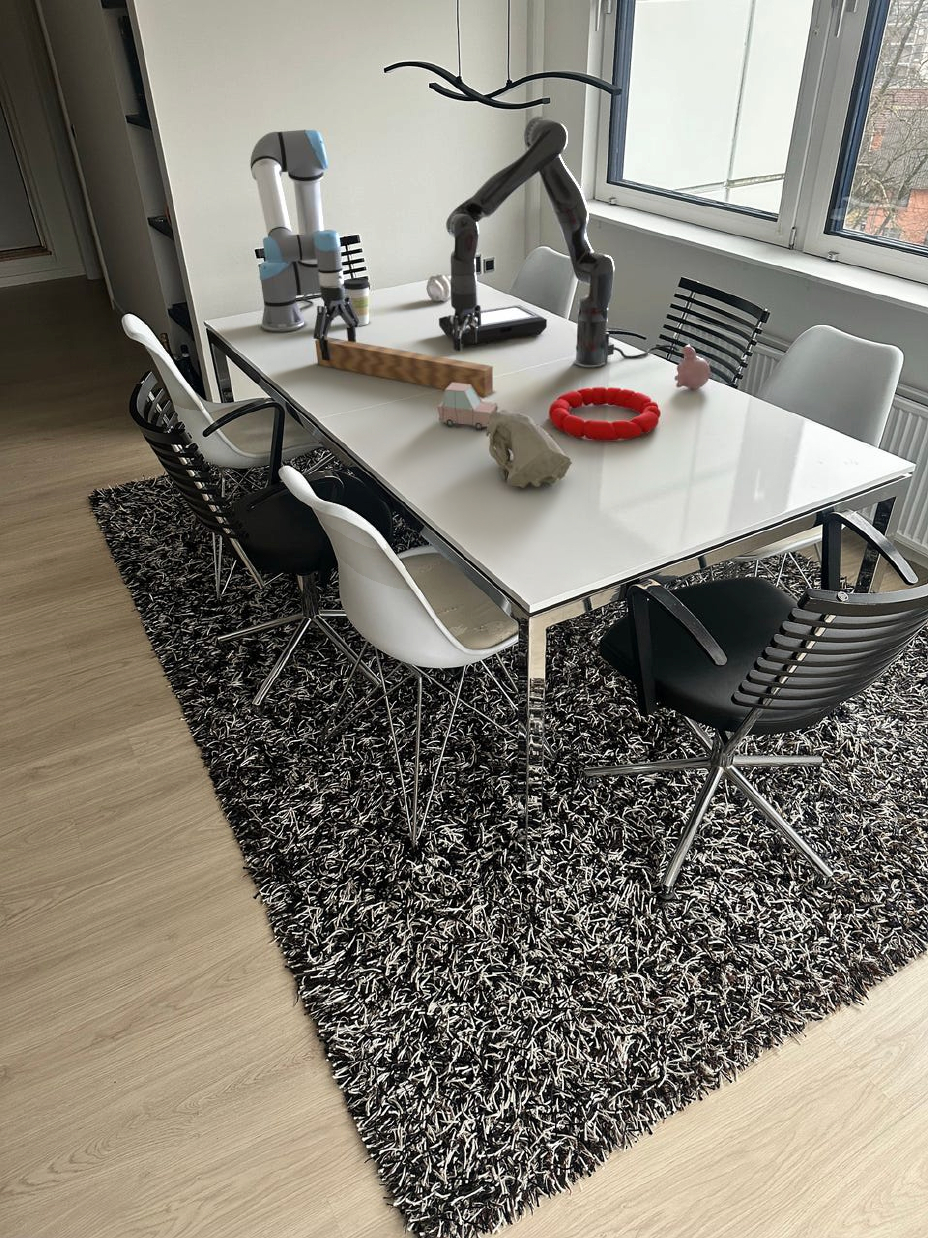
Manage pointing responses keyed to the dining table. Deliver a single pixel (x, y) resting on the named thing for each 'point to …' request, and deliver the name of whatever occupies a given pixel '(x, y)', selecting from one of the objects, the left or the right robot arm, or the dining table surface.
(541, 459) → the animal skull
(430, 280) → the seashell
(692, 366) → the figurine
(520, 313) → the electronic device
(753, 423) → the dining table surface
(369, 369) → the bar
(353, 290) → the coffee cup
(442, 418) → the toy car
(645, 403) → the decorative ring
